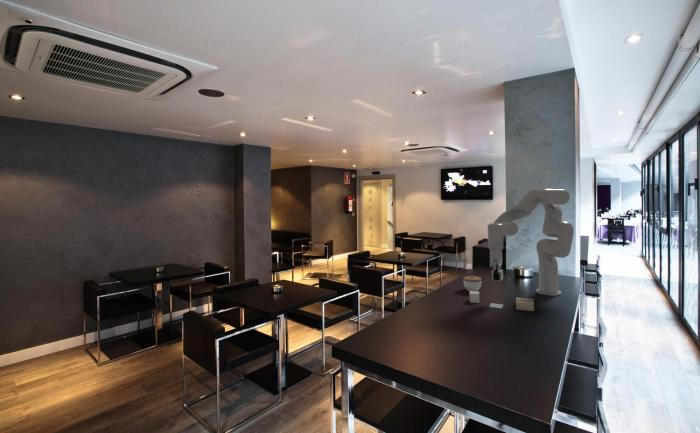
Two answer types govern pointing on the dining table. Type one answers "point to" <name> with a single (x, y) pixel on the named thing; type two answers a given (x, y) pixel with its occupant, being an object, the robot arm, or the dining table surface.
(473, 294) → the offwhite cube
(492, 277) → the sage cube
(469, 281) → the lidded jar
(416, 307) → the dining table surface
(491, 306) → the sage swatch
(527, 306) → the tan square block
